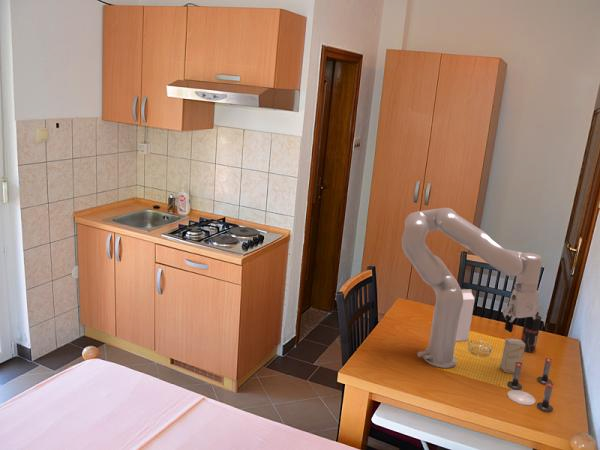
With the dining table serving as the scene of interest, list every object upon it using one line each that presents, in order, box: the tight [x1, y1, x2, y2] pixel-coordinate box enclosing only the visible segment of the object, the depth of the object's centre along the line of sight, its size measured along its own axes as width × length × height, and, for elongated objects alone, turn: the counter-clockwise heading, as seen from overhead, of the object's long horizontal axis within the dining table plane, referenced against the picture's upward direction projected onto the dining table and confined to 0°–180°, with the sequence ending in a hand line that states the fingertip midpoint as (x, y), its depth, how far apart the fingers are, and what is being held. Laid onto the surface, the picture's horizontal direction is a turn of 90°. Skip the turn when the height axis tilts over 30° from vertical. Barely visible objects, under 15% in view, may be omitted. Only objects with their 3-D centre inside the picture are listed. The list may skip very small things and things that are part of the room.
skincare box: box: [500, 338, 525, 374], centre depth 199 cm, size 6×4×12 cm
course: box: [506, 357, 554, 413], centre depth 184 cm, size 19×19×9 cm
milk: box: [456, 288, 476, 342], centre depth 223 cm, size 6×6×22 cm
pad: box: [507, 389, 536, 406], centre depth 181 cm, size 9×9×1 cm
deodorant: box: [520, 314, 542, 354], centre depth 218 cm, size 6×6×15 cm
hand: (518, 329), depth 196 cm, fingers open, 9 cm apart
